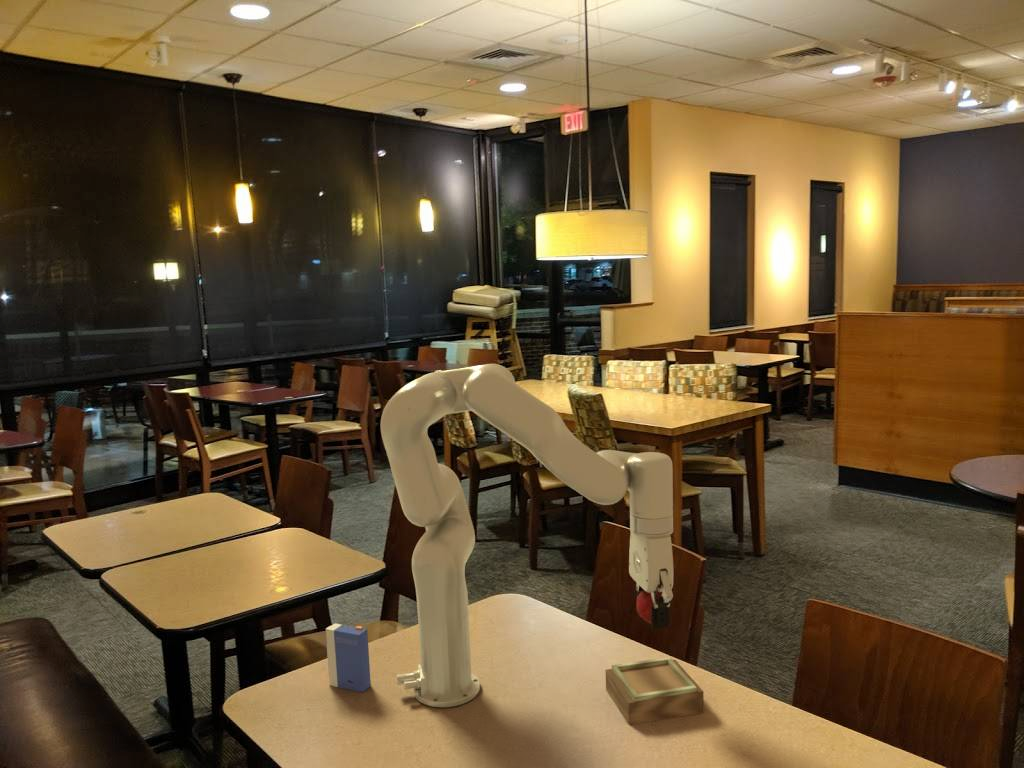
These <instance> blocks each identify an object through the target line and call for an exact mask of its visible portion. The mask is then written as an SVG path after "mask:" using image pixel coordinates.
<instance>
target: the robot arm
mask: <svg viewBox="0 0 1024 768" xmlns="http://www.w3.org/2000/svg"><path fill="white" fill-rule="evenodd" d="M464 412H465V413H466V412H472V413H474V415H475V414H476V416H478V417H479V418H481V420H482V419H483V420H484V421H485V422H487V423H488V424H490V425H491V426H493V427H494V428H495V429H498V430H499V431H500V432H502V433H503V434H505V436H508V437H509V438H511V440H513V441H514V442H516V443H518V444H519V445H521V446H522V447H523V448H525V449H526V450H527V451H529V452H530V453H531V454H532V456H533V457H534V458H535V459H536V460H537V461H539V463H541V464H542V466H544V467H545V468H546V469H547V470H548V471H549V472H550V473H552V475H554V476H555V477H556V478H557V479H559V480H560V481H561V482H562V483H564V484H565V485H566V486H567V487H569V488H570V489H572V490H574V491H576V492H577V493H579V495H581V496H582V497H585V498H586V499H587V500H588V501H591V502H593V503H595V504H598V505H602V506H610V505H614V504H616V503H618V502H619V501H621V500H622V499H623V498H624V496H625V495H626V494H627V491H628V493H629V531H630V536H629V553H628V554H629V556H628V557H629V558H628V574H629V575H630V577H631V578H632V580H633V581H635V583H636V584H635V590H636V591H637V592H636V599H637V598H638V595H639V594H640V592H641V591H642V590H643V589H644V590H645V591H646V592H648V593H651V596H652V602H653V606H651V624H650V627H651V629H653V630H658V629H663V628H664V629H666V628H669V627H670V608H669V607H671V601H672V599H673V598H674V594H673V593H674V592H673V591H672V589H673V586H674V557H673V544H672V537H671V535H672V534H673V532H674V496H673V495H674V490H673V489H674V488H673V486H674V485H673V481H674V480H673V479H674V478H673V477H674V476H673V473H674V472H673V471H674V469H673V460H672V459H671V457H670V456H669V455H668V454H666V453H663V452H657V451H646V452H639V453H637V452H636V453H635V452H629V451H621V450H615V449H601V450H599V451H597V452H595V451H594V450H593V449H591V448H589V447H588V446H587V445H586V444H584V443H583V442H582V441H581V440H580V439H578V438H577V437H576V436H575V435H574V434H573V433H572V432H571V430H569V428H568V427H567V426H566V423H565V422H564V420H563V419H562V417H561V416H560V414H559V413H558V412H557V411H556V410H555V409H554V408H553V407H551V406H550V405H548V404H546V403H545V402H544V401H542V400H540V398H537V396H536V395H533V394H532V393H530V392H528V391H527V390H526V389H524V388H522V386H520V385H518V384H517V383H516V380H515V377H514V375H513V373H512V372H511V371H510V370H509V369H508V368H507V367H505V366H503V365H502V364H501V365H500V364H498V363H486V364H481V365H474V366H468V367H462V368H461V367H460V368H453V369H447V370H440V371H434V372H430V373H427V374H424V375H422V376H421V377H419V378H416V379H414V380H412V381H410V382H408V383H406V384H405V385H404V386H403V387H401V388H400V389H399V390H397V392H395V393H394V395H392V396H391V398H390V399H389V400H388V401H387V403H386V405H385V407H384V408H383V410H382V414H381V417H380V418H381V419H380V434H381V439H382V443H383V447H384V449H385V451H386V456H387V459H388V462H389V465H390V471H391V474H392V479H393V481H394V485H395V489H396V491H397V496H398V499H399V503H400V505H401V506H400V507H401V509H402V512H403V514H404V516H405V518H407V520H408V521H409V522H410V523H411V524H412V525H415V526H417V527H422V528H423V527H424V528H425V532H424V533H423V535H422V536H421V537H420V538H419V540H418V541H417V543H416V545H415V548H414V550H413V553H412V557H411V571H412V577H413V582H414V587H415V595H416V608H417V609H416V611H417V618H418V619H417V620H418V623H417V624H418V639H419V641H418V642H419V657H420V661H419V662H420V663H418V664H417V669H416V670H415V669H414V670H413V671H412V672H408V673H397V674H396V685H397V686H402V685H403V686H404V687H403V688H404V690H411V689H413V695H414V697H415V698H416V700H417V701H418V702H420V703H422V704H423V705H425V706H429V707H434V708H451V707H456V706H461V705H464V704H466V703H468V702H470V701H471V700H473V699H475V698H476V697H477V695H478V694H479V693H480V690H481V681H480V678H479V677H478V676H477V675H476V674H475V673H473V672H472V658H471V657H472V656H471V655H472V654H471V637H470V631H471V630H470V615H469V613H470V612H469V598H468V597H469V596H468V588H467V582H466V575H465V573H466V571H465V569H466V568H465V567H466V563H467V561H468V560H469V558H470V556H471V554H472V552H473V551H474V550H473V549H474V548H475V542H476V535H475V533H476V532H475V529H474V528H475V527H474V524H473V520H472V517H471V514H470V511H469V510H470V509H469V506H468V503H467V499H466V496H465V493H464V490H463V486H462V484H461V480H460V478H459V477H458V476H457V474H456V473H455V472H454V470H452V469H451V468H450V467H449V466H448V465H445V464H442V463H438V459H437V455H436V450H435V448H434V445H433V443H432V441H431V439H430V437H429V435H428V431H429V430H428V429H429V427H430V426H431V425H433V424H435V423H436V422H438V421H439V420H440V419H442V418H444V417H445V416H446V415H450V414H451V415H452V414H459V413H464ZM658 586H660V587H661V588H660V587H659V589H656V588H657V587H658ZM660 592H663V593H662V596H660V597H659V598H658V599H657V594H656V593H660Z"/></svg>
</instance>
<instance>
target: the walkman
mask: <svg viewBox="0 0 1024 768" xmlns="http://www.w3.org/2000/svg"><path fill="white" fill-rule="evenodd" d="M368 634H369V633H368V628H364V627H363V626H359V625H357V626H354V625H353V626H352V625H348V624H347V625H346V624H340V623H333V624H332V625H329V626H328V627H326V628H325V636H326V654H327V655H326V656H327V657H326V658H327V669H328V683H329V686H330V685H331V686H330V687H335V688H340V689H345V690H350V691H355V692H359V693H364V692H366V690H368V688H370V687H371V686H372V683H371V669H370V666H371V665H370V652H369V635H368Z"/></svg>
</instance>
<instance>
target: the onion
mask: <svg viewBox="0 0 1024 768" xmlns="http://www.w3.org/2000/svg"><path fill="white" fill-rule="evenodd" d="M656 589H660V587H658V586H657V588H656ZM639 592H640V591H639ZM662 593H663V592H660V593H656V594H657V599H658V598H659V597H660V596H662ZM651 606H653V602H652V596H651V593H648V592H646V591H645V590H644V589H643V590H642V591H641V592H640V594H639V595H638V598H637V597H636V612H637V613H638V615H639V616H640V617H641V618H642V619H643V620H644V622H647V623H648V624H650V625H651ZM670 607H671V606H670ZM670 607H669V609H670Z"/></svg>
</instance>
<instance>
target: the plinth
mask: <svg viewBox="0 0 1024 768" xmlns="http://www.w3.org/2000/svg"><path fill="white" fill-rule="evenodd" d="M605 690H606V692H607V694H608V695H609V697H610V698H611V700H612V701H613V703H614V704H615V706H616V707H617V709H618V710H619V712H620V713H621V715H622V716H623V718H624V720H625V721H626V722H627V724H628V725H629V726H630V725H636V724H641V723H648V722H653V721H654V722H655V721H659V720H666V719H672V718H678V717H683V716H689V715H696V714H697V715H698V714H702V713H703V714H704V690H703V689H702V688H701V687H700V685H698V684H697V683H696V681H695V680H694V679H693V678H692V677H691V676H690V674H689V672H687V671H686V669H684V667H683V666H682V665H681V664H680V663H679V662H678V661H677V660H676V659H672V657H670V656H667V657H660V658H659V657H658V658H652V659H646V660H640V661H639V660H638V661H634V662H633V661H632V662H626V663H625V662H624V663H618V664H612V665H611V668H609V669H605Z"/></svg>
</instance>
